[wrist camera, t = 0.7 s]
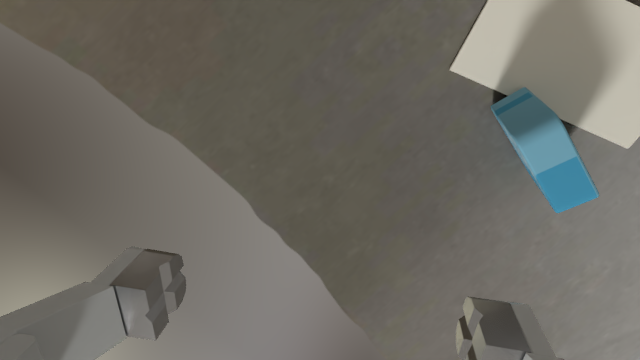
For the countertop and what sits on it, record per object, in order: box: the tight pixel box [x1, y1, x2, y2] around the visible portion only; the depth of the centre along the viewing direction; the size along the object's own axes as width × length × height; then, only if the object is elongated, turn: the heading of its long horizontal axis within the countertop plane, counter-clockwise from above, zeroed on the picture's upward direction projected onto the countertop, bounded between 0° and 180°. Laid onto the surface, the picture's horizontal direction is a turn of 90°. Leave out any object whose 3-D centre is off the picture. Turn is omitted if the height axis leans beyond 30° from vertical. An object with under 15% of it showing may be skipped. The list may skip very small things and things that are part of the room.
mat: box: [449, 0, 640, 149], centre depth 44 cm, size 14×26×1 cm, turn 69°
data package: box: [491, 87, 599, 213], centre depth 43 cm, size 12×4×12 cm, turn 38°
